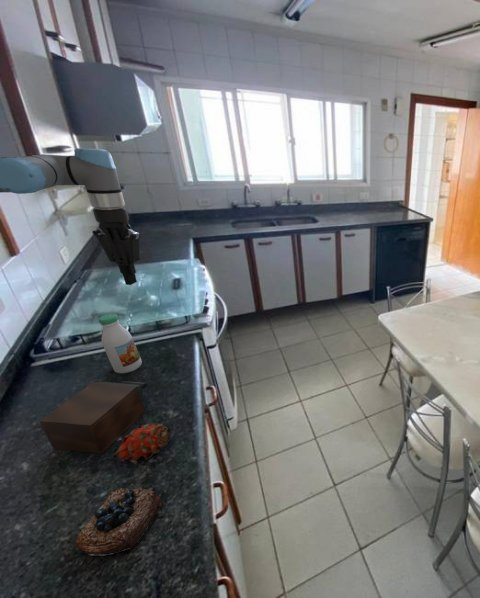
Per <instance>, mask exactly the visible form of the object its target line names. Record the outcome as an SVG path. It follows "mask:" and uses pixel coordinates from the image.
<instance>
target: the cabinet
mask: <svg viewBox="0 0 480 598" xmlns="http://www.w3.org/2000/svg"><path fill="white" fill-rule="evenodd" d="M145 413H146V407H145V408H144V405H143V402H142V399H141V396H140V393H139V390H138V387H137V386H132V385H121V384H110V383H100V381H99V382H97V381H93V382H91V383H90V384H89V385H87V386H86V387H84V388H83V389H81V390H80V391H78V392H77V393H76V394H74V395H73V396H71V398H69V399H67V400H65V402H63V403H62V404H60V405H59V406H58V407H56V408H55V409H54V410H52V411H51V412H49V413H48V414H47V415H45V416H44V417H42V418H41V419H40V420H39V424H40V426H41V427H42V430H43V432H44V433H45V435H46V437H47V439H48V442H49V443H50V445H51V447H52V449H53V450H59V451H67V452H68V451H69V452H80V453H90V454H104V453H105V452H106V451H107V450H108V449H109V448H110V447H111V446H112V445H113V444H115V442H117V441H118V439H119V438H120V437H122V436H123V434H124V433H126V432H127V431H128V430H129V429H130V428H131V427H132V426H133V425H134V424H135V423H136V422H137V421H138V420H139V419H140V418H141V417H142V416H143V415H144V414H145Z"/></svg>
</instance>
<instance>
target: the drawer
mask: <svg viewBox="0 0 480 598" xmlns="http://www.w3.org/2000/svg"><path fill="white" fill-rule="evenodd" d="M99 383H110V384H121V385H132V386H137V387H138V390H139V393H140V396H141V399H142V402H143V405H144V408H145V409H146V407H147V402H146V400H145V396H144V394H143V389H146V388H147V385H148V384H147V382H139V381H128V380H121V381H120V382H111V381H110V382H109V381H99Z"/></svg>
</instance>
